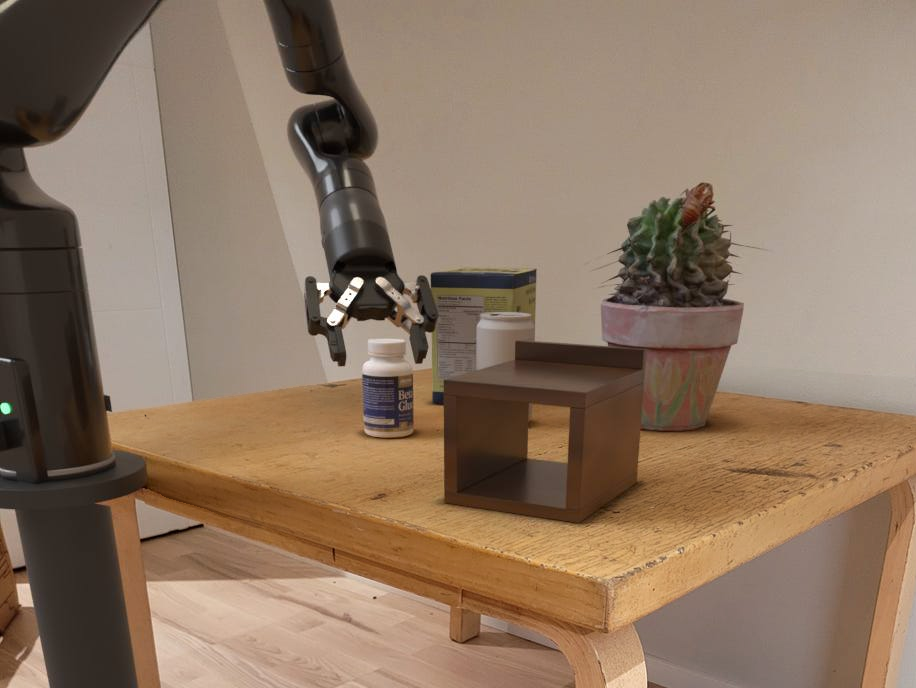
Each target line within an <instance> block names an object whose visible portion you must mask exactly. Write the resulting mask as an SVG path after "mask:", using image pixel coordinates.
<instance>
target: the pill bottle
mask: <svg viewBox="0 0 916 688" xmlns="http://www.w3.org/2000/svg"><path fill="white" fill-rule="evenodd" d="M406 354H407V341H406V340H405V339H403V338H370V339H368V340H367V355H369V357H370V358H369V360H367V361H365V363H363V365H362V367H361V381H362V406H363V409H362V411H363V428H364V433H365V434H366V435H367V436H370V437H374V438H388V439H390V438H404V437H408V436H410V435H412V434H413V433H414V425H415V421H414V420H415V419H414V418H415V417H414V373H413V371H414V369H413V366H412V364H411V362H409V361H407V360H405V355H406Z"/></svg>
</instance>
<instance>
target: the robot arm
mask: <svg viewBox="0 0 916 688" xmlns="http://www.w3.org/2000/svg"><path fill="white" fill-rule="evenodd" d="M167 1H169V0H0V478H3V479H8V480H14V481H19V482H25V483H30V484H41V483H44V482H49V481H58V480H68V479H75V478H81V477H86V476H91V475H94V474H98V473H101V472H104V471H106V470H109V469H111V468H112V467H113V466H115V464H116V462H115V455H114V452H113V451H112V450H113V446H112V439H111V438H112V437H111V430H110V425H109V418H108V412H110V413H113V407H112V402H111V395H107V394H105V391H104V384H103V378H102V377H103V376H102V370H101V365H100V364H101V363H100V359H99V358H100V357H99V351H98V345H97V343H98V342H97V338H96V332H95V324H94V318H93V311H92V303H91V299H90V298H91V297H90V291H89V284H88V283H89V281H88V277H87V276H88V275H87V269H86V264H85V263H86V262H85V257H84V250H83V249H84V248H82V237H81V230H80V226H79V221H78V217H77V214H76V213H75V212H74V210H73V209H72V208H71V207H70V206H68V205H66V204H64V203H63V202H61V201H59V200H57V199H55V198H53V197H52V196H51V195H49V194H48V193H47V192H45V191H44V190H43V189H42V188H41V187H40V186H39V185H38V184H37V182H36V181H35V180H34V178H33V176H32V174H31V172H30V169H29V164H28V161H27V157H26V154H25V149H31V148H32V149H33V148H39V147H45V146H49V145H51V144H55V143H56V142H58V141H59V140H61V139H62V138H65V136H67V135H68V134H69V133H70V132H71V131H72V130H73V129H74V128H75V127H76V125H77V124H78V123H79V121H80V120H81V119H82V117H83V116H84V114H85V113H86V112H87V110H88V108H89V107H90V106H91V103H92V102H93V101H94V99H95V97H96V96H97V94H98V92H99V90H100V89H101V87H102V86H103V84H104V82H105V81H106V80H107V78H108V76H109V74H110V73H111V71H112V69H114V66H115V65H116V64H117V62H118V60H119V58H120V57H121V55H122V54H123V53H124V51H125V50H126V49H127V47H128V46H129V45H130V44H131V42H132V41H133V40H134V39H135V38H136V37H137V36H138V35H139V34H140V33H141V32H142V31H143V30H144V28H146V26H147V25H148V24H149V23H150V21H151V20H152V19H153V18H154V17H155V16H156V14H157V13H158V12H159V11H160V9H162V7H163V6H164V5H165V4H166V3H167ZM262 2H263V4H264V8H265V11H266V13H267V17H268V21H269V24H270V28H271V31H272V34H273V38H274V41H275V45H276V48H277V51H278V55H279V58H280V62H281V65H282V68H283V72H284V75H285V78H286V80H287V83H288V84H289V86H290V87H291V88H292V89H293V90H294V91H296V92H297V93H300V94H304V95H310V96H325V97H330V99H326V100H322V101H318V102H314V103H309V104H305V105H301V106H299V107H297V108H295V109H294V110H293V111H292V113H291V114H290V116H289V118H288V121H287V126H286V135H287V140H288V145H289V146H290V149H291V151H292V153H293V155H294V158H295V159H296V161H297V162H298V164H299V165H300V167H301V169H302V170H303V172H304V173H305V175H306V176H307V178H308V179H309V183H310V184H311V186H312V189H313V192H314V197H315V200H316V206H317V211H318V214H319V230H320V237H321V241H320V242H321V246H322V249H323V252H324V257H325V262H326V267H327V271H328V275H329V276H328V277H329V282H317V278H316V277H314V276H311V275H309V276H307V277H305V279H304V291H303V300H304V301H303V302H304V308H305V317H306V325H307V326H306V327H307V333H308V334H309V335H310V336H312V337H313V336H318V335H321V336H323V337H325V338H326V341H327V346H328V347H327V348H328V350H329V357H330V359H331V360H332V362H334V363H335V362H336V363H337V366H338V367H346V362H347V349H346V343H345V338H344V335H343V330H344V329H345V328H346V327H347V326H348V324H349V323H350V321H351V320H352V319H356V321H357V322H365V321H366V322H367V321H370V320H374V321H381V322H383V321H386V319H387V320H388V321H389V322H390V323H392V324H393V325H394V326H395V327H396V328H401V329H403V330H404V331H405V332H406V333H407V334H408V335H409V338H408V339H409V343H410V348H411V352H412V356H413V360H414V364H415V365H421V364H423V362H424V359H425V360H426V358H427V355H428V351H429V347H430V346H429V342H428V339H427V338H428V337H427V334H426V333H430V334H432V332H434V330H435V325H436V321H437V319H438V316H439V314H438V310H437V307H436V304H435V301H434V298H433V295H432V292H431V284H430V283H429V280H428V277H427V276H425V275H422V274H420V275H418V276H417V277H416V280H414V281H411V280H410V281H404V280H403V279H402V278H401V277H400V275H399V274H398V270H397V265H396V261H395V256H394V252H393V248H392V244H391V239H390V234H389V230H388V226H387V221H386V219H385V215H384V213H383V211H382V208H381V205H380V202H379V196H378V192H377V188H376V184H375V179H374V176H373V173H372V171H371V169H370V167H369V166H368V164H367V163H366V162H365V161H366V160H369V159H371V158H372V157H373V155H374V154H375V152H376V150H377V148H378V145H379V138H380V137H379V135H380V134H379V129H378V124H377V122H376V118H375V116H374V114H373V112H372V110H371V108H370V106H369V104H368V103H367V101H366V99H365V97H364V95H363V94H362V92H361V90H360V89H359V86H358V85H357V83H356V80H355V78H354V76H353V74H352V72H351V69H350V66H349V63H348V60H347V57H346V53H345V50H344V46H343V41H342V38H341V37H342V36H341V33H340V28H339V23H338V20H337V15H336V12H335V8H334V5H333V1H332V0H262ZM404 295H406V296H408V297H409V298H410V300H411V302H412V303H413V304H416V306H417V310H416V309H415V308H414V307H412V305H411V302H410V300H409V299H407V298H406V297H405V296H404ZM326 297H329V298H330V300H331V301H333V302H334V303H335V307H334V309H333V310H332V311H331V313H330V314H329V316H328V317H325V316H321V307H320V305H321V304H322V303H324V300H325V298H326ZM396 309H397V310H396Z"/></svg>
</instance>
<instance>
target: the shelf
mask: <svg viewBox="0 0 916 688" xmlns="http://www.w3.org/2000/svg"><path fill="white" fill-rule="evenodd" d="M646 353H647V349H642V348H628V347H613V346H608V345H598V344H584V343H583V344H582V343H570V342H569V343H567V342H552V341H538V340H535V341H526V340H517V341H515V360H512V361H508V362H505V363H501V364H498V365H494V366H490V367H487V368H483V369H480V370H476V371H473V372H469V373H466V374H462V375H459V376H455V377H452V378H448V379H445V380H444V404H443V491H444V492H443V493H444V494H443V495H444V496H443V497H444V499H443V500H444V501H443V502H444V503H445V504H451V505H457V506H463V507H472V508H477V509H483V510H490V511H495V512H496V511H498V512H504V513H510V514H511V513H512V514H517V515H523V516H530V517H535V518H536V517H537V518H543V519H550V520H554V521H555V520H556V521H562V522H568V523H569V522H570V523H577V524H579V523H581V522H582V521H584V520H585V519H587V518H588V517H590V516H591V515H592V514H593V513H596V512H597V511H598V510H600V509H601V508H602V507H605V505H607V504H608V503H609V502H612V500H614V499H616V497H618V496H620V495H621V494H622V493H624V492H626V491H627V490H628V489H630V488H631V487H632V486H635V484H637V483H638V469H639V458H640V457H639V456H640V442H641V430H642V429H641V417H642V404H643V391H644V383H643V382H644V378H645V366H646ZM529 403H531V404H532V405H543V406H552V407H553V406H554V407H563V408H569V424H568V444H567V445H568V446H567V447H568V448H567V449H568V450H567V462H560V461H555V460H546V459H537V458H528V452H529V451H528V449H529V420H528V419H529Z"/></svg>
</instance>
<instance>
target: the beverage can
mask: <svg viewBox="0 0 916 688" xmlns="http://www.w3.org/2000/svg"><path fill="white" fill-rule="evenodd" d="M480 317H481V320H480V321H479V323H478V324H477V337H476V370H480V369H483V368H487V367H490V366H494V365H498V364H501V363H505V362H508V361H512V360H515V341H517V340H526V341H534V325H533V323H532V322H531V314H527V313H517V312H488V313H481V314H480ZM532 409H533V404H531V403H529V419H528V421H530V420H531V419H532V411H533V410H532Z"/></svg>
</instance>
